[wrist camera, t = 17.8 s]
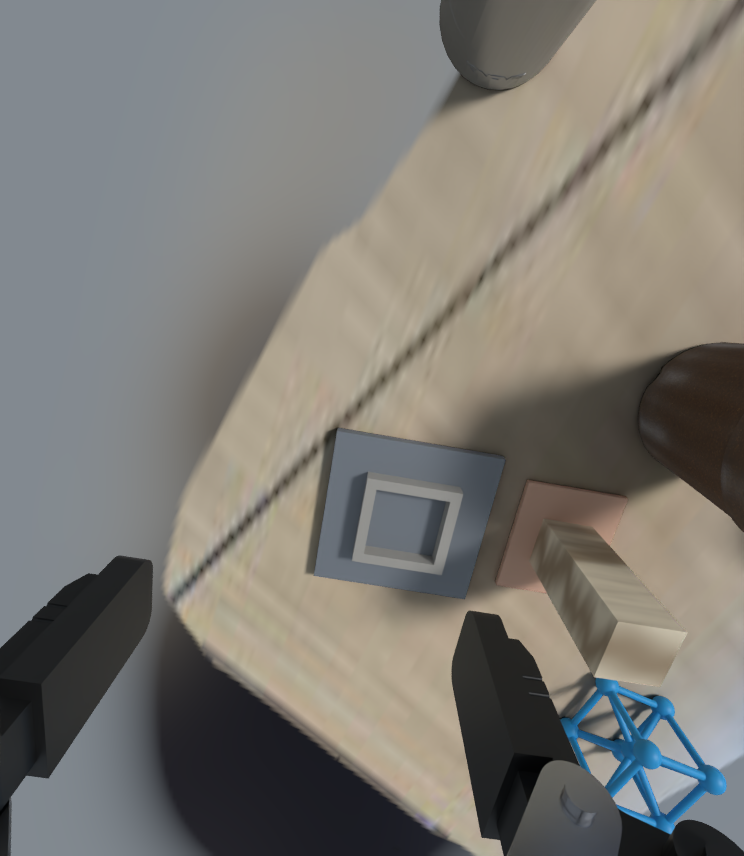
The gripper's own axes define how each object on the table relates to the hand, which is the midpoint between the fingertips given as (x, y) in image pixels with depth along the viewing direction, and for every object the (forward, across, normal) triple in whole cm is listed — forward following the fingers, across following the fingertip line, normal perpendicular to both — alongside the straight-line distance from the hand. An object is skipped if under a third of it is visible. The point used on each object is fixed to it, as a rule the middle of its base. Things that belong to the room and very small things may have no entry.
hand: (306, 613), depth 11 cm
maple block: (+30, -23, +13) cm, 40 cm away
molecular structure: (+30, -36, +34) cm, 58 cm away
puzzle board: (+30, -7, +13) cm, 34 cm away
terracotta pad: (+30, -23, +13) cm, 40 cm away
